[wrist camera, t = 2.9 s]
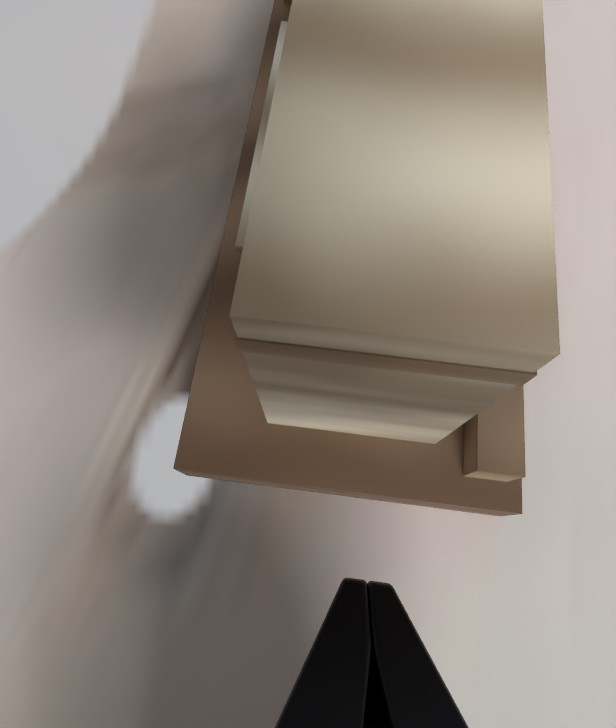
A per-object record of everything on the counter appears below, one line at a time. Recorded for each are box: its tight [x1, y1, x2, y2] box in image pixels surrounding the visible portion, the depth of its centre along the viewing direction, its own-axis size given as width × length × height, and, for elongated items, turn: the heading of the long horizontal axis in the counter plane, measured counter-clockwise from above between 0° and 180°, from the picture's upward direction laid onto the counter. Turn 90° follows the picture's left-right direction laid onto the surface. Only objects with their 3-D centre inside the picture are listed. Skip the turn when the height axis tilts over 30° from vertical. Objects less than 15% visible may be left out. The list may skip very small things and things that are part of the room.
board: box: [174, 0, 525, 516], centre depth 20 cm, size 26×12×5 cm, turn 173°
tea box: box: [230, 0, 560, 444], centre depth 15 cm, size 13×6×9 cm, turn 173°
